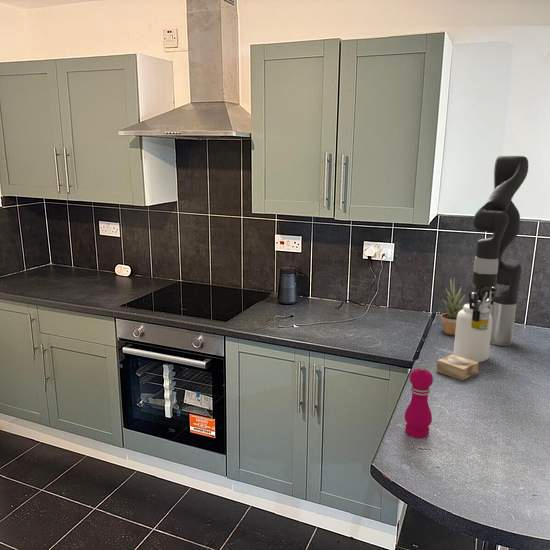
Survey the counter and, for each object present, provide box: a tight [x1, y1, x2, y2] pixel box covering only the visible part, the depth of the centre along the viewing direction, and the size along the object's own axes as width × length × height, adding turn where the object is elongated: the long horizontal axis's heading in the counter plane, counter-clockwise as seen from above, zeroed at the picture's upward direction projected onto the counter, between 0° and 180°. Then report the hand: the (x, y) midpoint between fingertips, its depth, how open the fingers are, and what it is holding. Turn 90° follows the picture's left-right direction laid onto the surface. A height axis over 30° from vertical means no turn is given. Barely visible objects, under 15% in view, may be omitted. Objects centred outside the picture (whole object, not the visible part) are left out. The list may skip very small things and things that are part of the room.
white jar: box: [452, 303, 492, 363], centre depth 194 cm, size 12×12×20 cm
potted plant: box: [440, 277, 466, 336], centre depth 220 cm, size 10×10×25 cm
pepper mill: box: [404, 363, 434, 439], centre depth 140 cm, size 7×7×20 cm
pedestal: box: [436, 353, 480, 381], centre depth 181 cm, size 10×10×4 cm
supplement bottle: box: [471, 300, 491, 331], centre depth 176 cm, size 5×5×10 cm
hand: (480, 319), depth 176 cm, fingers closed on supplement bottle, 5 cm apart
